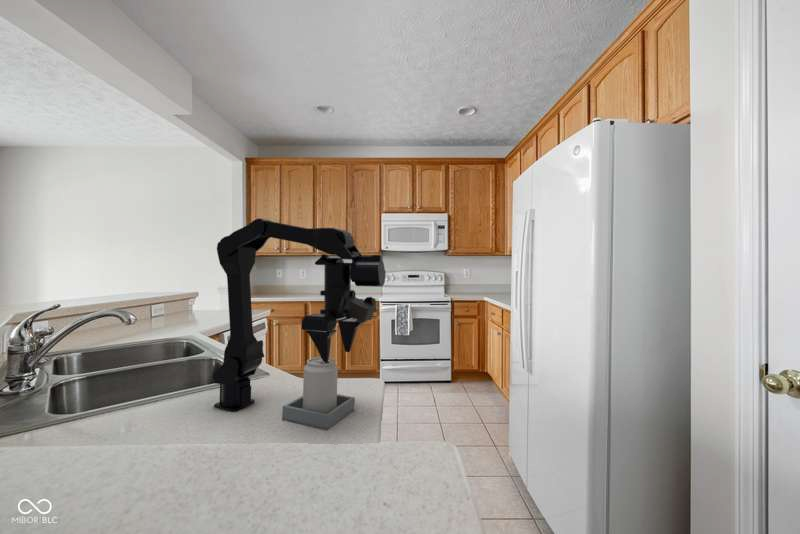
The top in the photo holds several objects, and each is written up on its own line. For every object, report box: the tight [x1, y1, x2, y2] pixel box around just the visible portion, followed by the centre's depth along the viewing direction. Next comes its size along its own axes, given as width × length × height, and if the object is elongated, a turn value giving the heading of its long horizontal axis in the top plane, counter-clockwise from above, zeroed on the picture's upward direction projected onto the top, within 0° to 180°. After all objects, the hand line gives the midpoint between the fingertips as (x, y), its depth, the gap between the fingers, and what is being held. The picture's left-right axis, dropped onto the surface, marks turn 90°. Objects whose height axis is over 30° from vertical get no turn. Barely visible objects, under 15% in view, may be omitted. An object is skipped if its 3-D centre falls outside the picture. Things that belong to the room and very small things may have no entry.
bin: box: [281, 393, 356, 431], centre depth 83 cm, size 11×11×3 cm
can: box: [302, 356, 339, 414], centre depth 83 cm, size 8×8×12 cm
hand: (337, 356), depth 81 cm, fingers open, 9 cm apart
